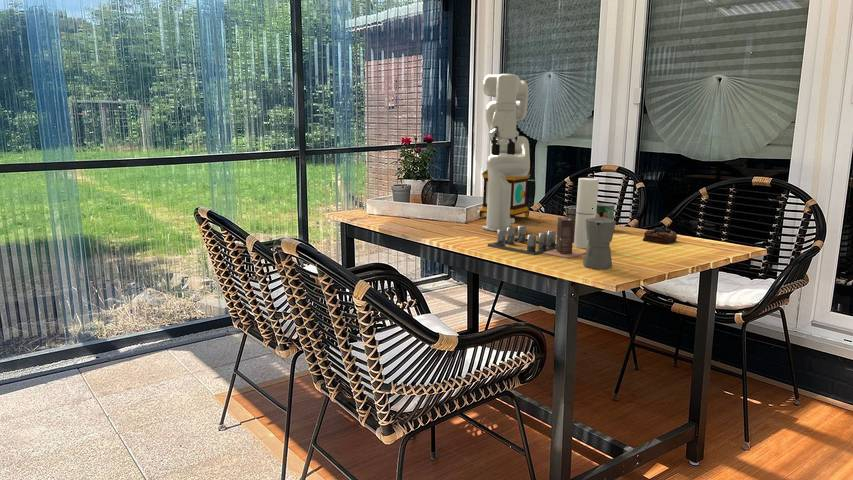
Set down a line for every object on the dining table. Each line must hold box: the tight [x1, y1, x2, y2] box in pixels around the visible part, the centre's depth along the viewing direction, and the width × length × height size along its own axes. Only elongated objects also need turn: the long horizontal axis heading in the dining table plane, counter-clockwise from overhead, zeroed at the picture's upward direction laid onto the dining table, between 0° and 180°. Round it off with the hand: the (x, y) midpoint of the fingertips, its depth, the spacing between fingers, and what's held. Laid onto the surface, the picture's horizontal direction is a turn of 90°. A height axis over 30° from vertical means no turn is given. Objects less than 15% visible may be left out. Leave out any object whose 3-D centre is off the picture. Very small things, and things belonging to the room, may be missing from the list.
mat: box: [542, 249, 586, 260], centre depth 229 cm, size 12×10×1 cm
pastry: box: [642, 226, 678, 245], centre depth 258 cm, size 11×12×6 cm
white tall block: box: [573, 177, 600, 249], centre depth 240 cm, size 7×7×25 cm
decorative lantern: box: [478, 169, 531, 219], centre depth 302 cm, size 20×20×30 cm
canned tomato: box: [596, 202, 615, 220], centre depth 279 cm, size 8×8×11 cm
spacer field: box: [487, 225, 557, 256], centre depth 239 cm, size 20×20×6 cm
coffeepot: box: [582, 211, 617, 271], centre depth 210 cm, size 15×9×18 cm, turn 159°
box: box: [556, 216, 575, 254], centre depth 228 cm, size 6×4×12 cm
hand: (503, 154), depth 246 cm, fingers open, 9 cm apart
